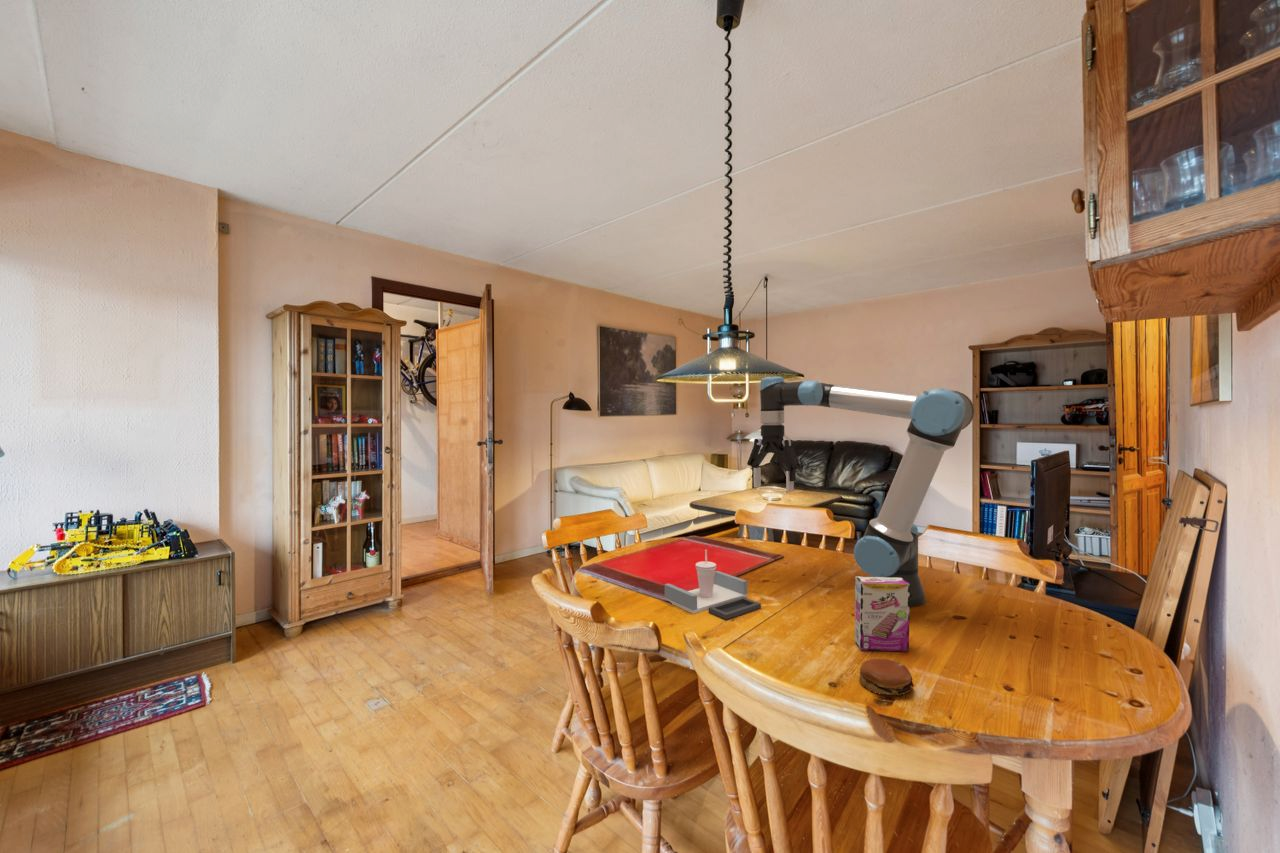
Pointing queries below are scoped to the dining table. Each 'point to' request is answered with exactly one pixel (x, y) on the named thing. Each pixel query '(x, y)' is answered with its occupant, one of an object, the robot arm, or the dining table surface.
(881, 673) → the burger
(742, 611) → the tray
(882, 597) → the candy bar box
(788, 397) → the robot arm
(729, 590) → the walled channel
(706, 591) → the smoothie
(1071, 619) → the dining table surface
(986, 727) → the dining table surface
